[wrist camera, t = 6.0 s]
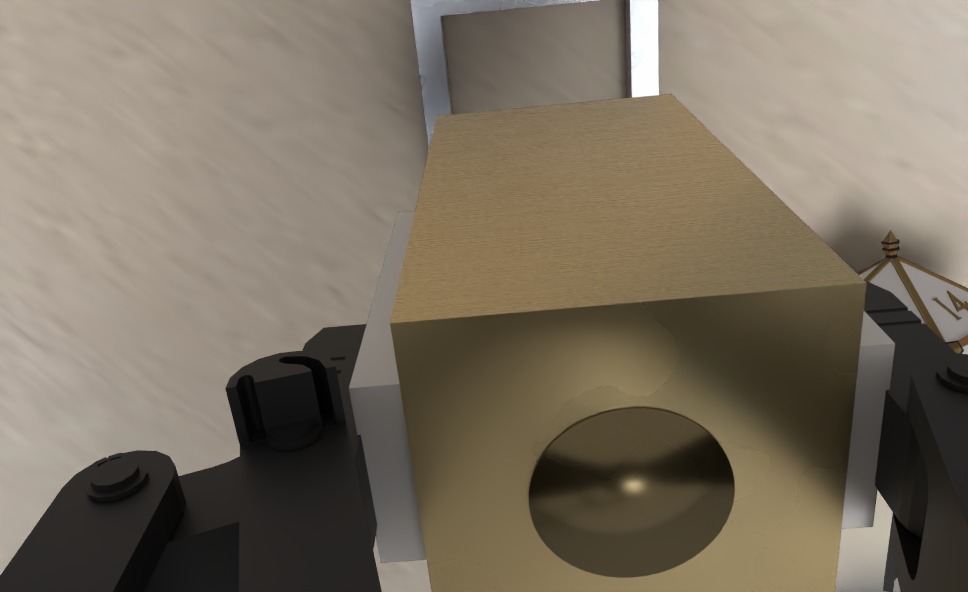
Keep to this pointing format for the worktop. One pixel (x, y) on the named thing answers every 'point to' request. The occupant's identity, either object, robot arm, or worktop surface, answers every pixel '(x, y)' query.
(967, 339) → the game die
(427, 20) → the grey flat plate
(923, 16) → the worktop surface
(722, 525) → the brass block with hole
